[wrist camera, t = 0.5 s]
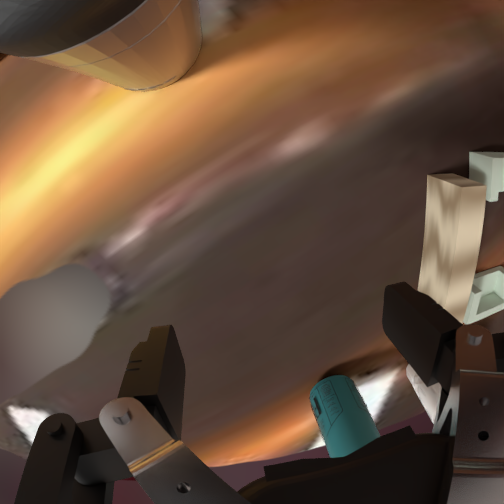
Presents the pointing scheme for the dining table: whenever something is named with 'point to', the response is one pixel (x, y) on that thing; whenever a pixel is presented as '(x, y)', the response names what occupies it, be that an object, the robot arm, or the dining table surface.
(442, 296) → the wooden block
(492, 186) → the end cap
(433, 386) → the white cup
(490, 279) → the end cap
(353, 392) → the beverage bottle
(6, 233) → the dining table surface
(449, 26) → the dining table surface
